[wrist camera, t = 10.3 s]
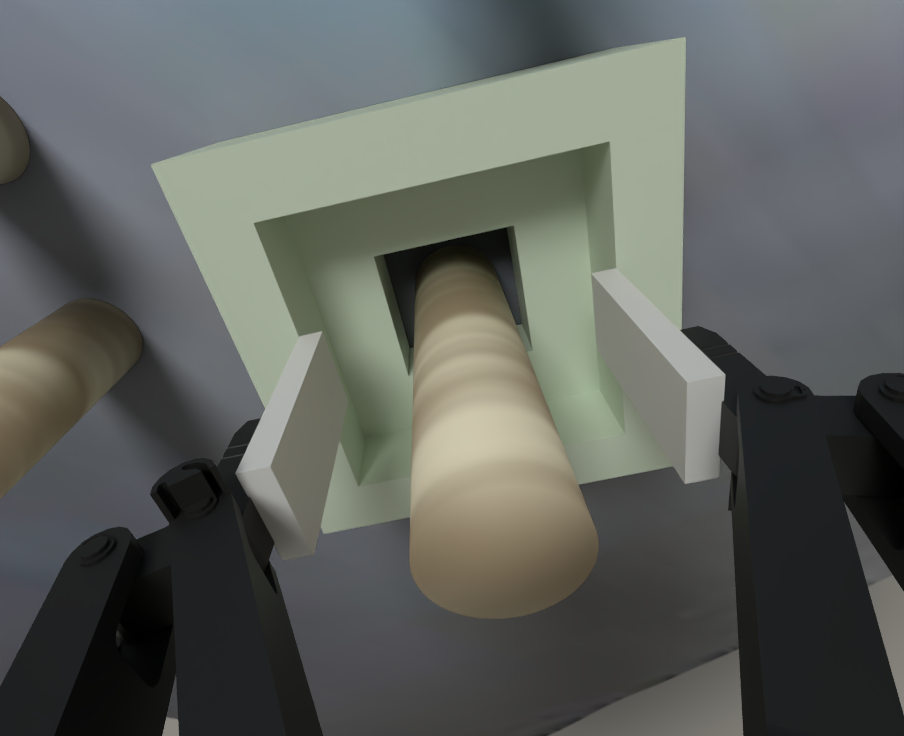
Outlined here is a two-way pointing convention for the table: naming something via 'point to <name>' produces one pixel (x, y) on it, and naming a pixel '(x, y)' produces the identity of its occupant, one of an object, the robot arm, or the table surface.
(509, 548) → the long birch dowel
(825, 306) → the table surface
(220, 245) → the sage socket block
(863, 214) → the table surface
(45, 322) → the medium birch dowel
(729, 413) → the robot arm
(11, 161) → the short birch dowel
